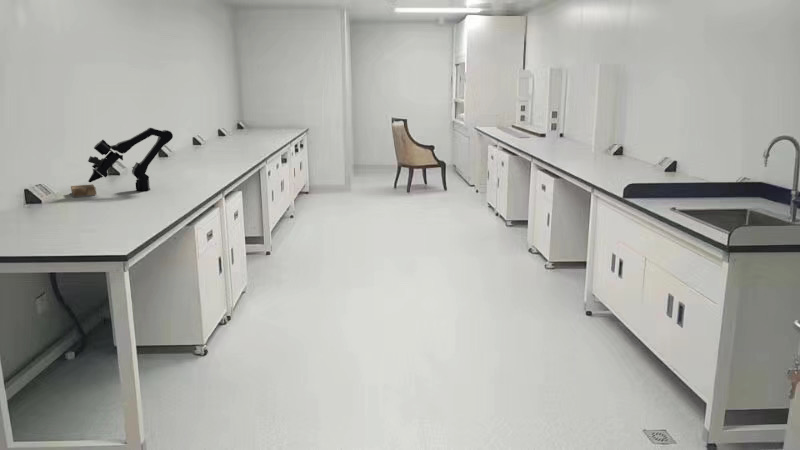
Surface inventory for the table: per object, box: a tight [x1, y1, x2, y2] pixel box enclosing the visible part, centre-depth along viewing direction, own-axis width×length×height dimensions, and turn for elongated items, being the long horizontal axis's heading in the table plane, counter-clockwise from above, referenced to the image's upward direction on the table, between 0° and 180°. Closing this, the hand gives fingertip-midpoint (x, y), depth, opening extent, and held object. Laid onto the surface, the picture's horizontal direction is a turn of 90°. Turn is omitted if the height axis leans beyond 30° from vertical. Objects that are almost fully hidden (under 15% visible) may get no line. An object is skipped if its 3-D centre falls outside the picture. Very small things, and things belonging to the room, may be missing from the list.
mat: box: [69, 192, 96, 198], centre depth 339 cm, size 11×14×1 cm
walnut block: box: [70, 184, 97, 197], centre depth 339 cm, size 4×12×11 cm
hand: (88, 181), depth 340 cm, fingers closed
